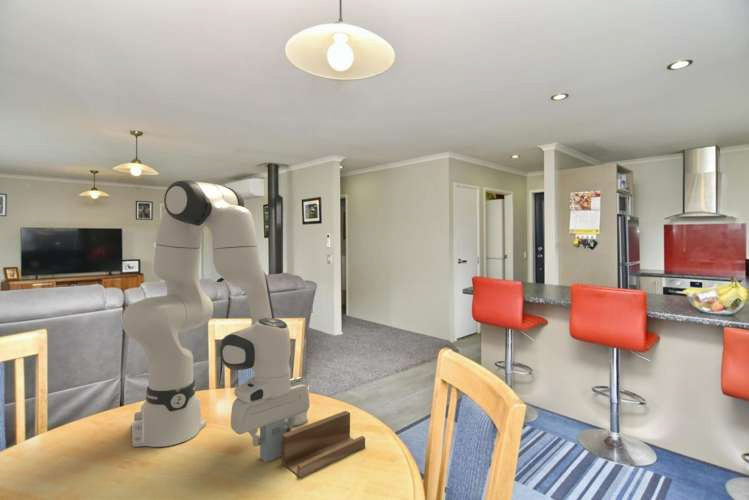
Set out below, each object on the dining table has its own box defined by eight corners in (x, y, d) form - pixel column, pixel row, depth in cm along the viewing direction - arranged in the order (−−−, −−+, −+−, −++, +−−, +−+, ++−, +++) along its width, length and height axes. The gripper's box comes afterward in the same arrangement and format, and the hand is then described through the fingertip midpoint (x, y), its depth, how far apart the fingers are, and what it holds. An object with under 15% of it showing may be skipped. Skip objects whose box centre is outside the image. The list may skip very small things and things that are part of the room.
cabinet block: (259, 457, 97) (260, 421, 97) (277, 449, 100) (277, 415, 100) (267, 463, 94) (267, 426, 94) (285, 455, 98) (285, 420, 98)
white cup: (303, 427, 113) (303, 393, 113) (277, 425, 114) (277, 391, 114) (312, 416, 120) (312, 384, 120) (288, 413, 122) (289, 382, 122)
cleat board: (281, 463, 94) (281, 434, 94) (345, 435, 108) (345, 410, 108) (300, 477, 88) (300, 447, 88) (365, 446, 102) (365, 420, 102)
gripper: (301, 371, 107) (301, 421, 107) (227, 390, 93) (227, 448, 93) (314, 377, 102) (314, 429, 102) (239, 398, 88) (239, 459, 88)
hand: (272, 438), depth 97 cm, fingers open, 7 cm apart
